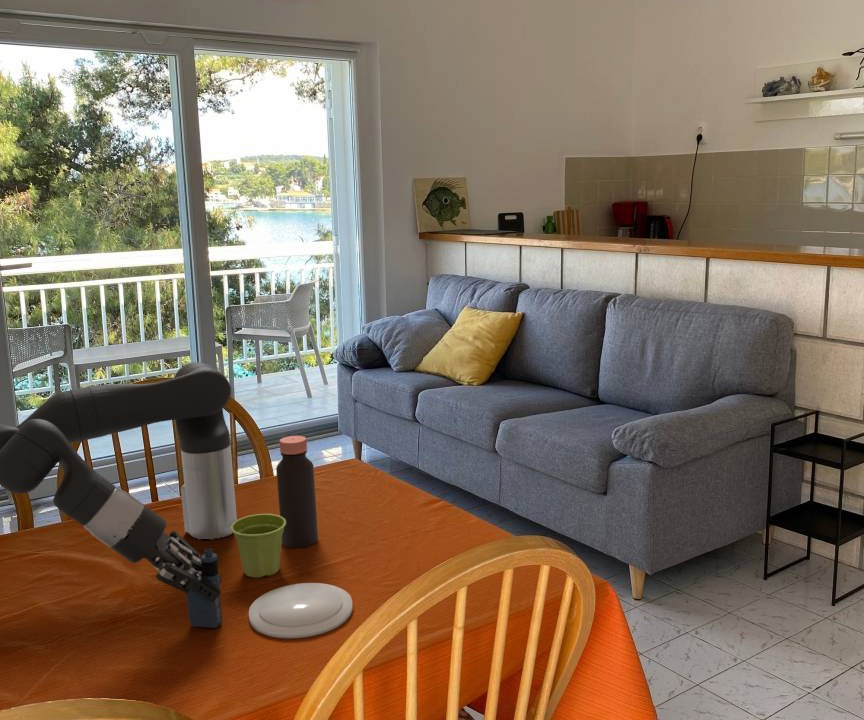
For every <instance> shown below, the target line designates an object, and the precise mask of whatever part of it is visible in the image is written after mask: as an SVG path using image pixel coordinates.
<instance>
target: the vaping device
mask: <svg viewBox="0 0 864 720" xmlns="http://www.w3.org/2000/svg"><path fill="white" fill-rule="evenodd" d="M200 559H201V563H202V572H201V571H198V570H196V571H197V572H198V573H200V574H201V575H203V576H204V577H205V578H206V579H208V580H209V581H211V582H212V583H213V584H215V585H216V586H217V587H219V588H220V589H221V582H220V579H219V576H220V575H219V574H220V573H219V563H218V555H217V553H214V552H213V549H212V548H207V549H205V550H204V554H202V555H200ZM186 580H187V581H188V579H186ZM186 601H187V612H188V613H187V614H188V622H190V625H191V626H192V627H200V628H217V627H219V626H220V625H221V624H222V623H223V616H222V615H223V614H222V603H221V594H220V595H219V596H218V597H217V598H216V600H215V601H213V602H210V601H209V600H207V599H206V598H205V597H203V596H202V595H200V594H199V593H198V592H196V591H195V590H193V589H192V590H190V591H189V592H188V593H186Z"/></svg>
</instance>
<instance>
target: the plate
mask: <svg viewBox="0 0 864 720" xmlns="http://www.w3.org/2000/svg"><path fill="white" fill-rule="evenodd" d="M352 613H353V599H352V596H351V595H350V594H349V593H348V592H347V591H346V590H344V589H343V588H340V587H338V586H337V585H333V584H328V583H322V582H321V583H319V582H305V583H304V582H302V583H295V584H289V585H284V586H282V587H278V588H275V589H272V590H270V591H268V592H266V593H264V594H261V596H259V597H258V598H256V599H255V600H254V601H253V602H252V604H250V607H249V610H248V620H249V621H248V622H249V624H250V626H251V627H252V628H253V629H254V630H255V631H256V632H258V633H259V634H262V635H265V636H268V637H272V638H277V639H301V638H308V637H313V636H318V635H322V634H325V633H327V632H331V631H332V630H334V629H336V628H338V627H340V626H341V625H342V624H344V623H345V622H347V620H348V619H349V618H350V616H351V615H352Z"/></svg>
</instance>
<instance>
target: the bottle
mask: <svg viewBox="0 0 864 720" xmlns="http://www.w3.org/2000/svg"><path fill="white" fill-rule="evenodd" d="M279 452H280V456H282V459H281V460H280V462H278V463H277V465H276V469H275V471H276V483H277V495H278V498H277V499H278V506H279V507H278V509H279V516H281V517H283V518H284V519H285V520H286V525H285V527H284V531H283V534H282V541H281V544H282V545H284V546H285V547H287V548H290V549H291V548H292V549H301V548H307V547H310V546H313V545H314V544H316V543H317V541H318V539H319V532H318V530H319V527H318V517H317V514H318V513H317V501H316V485H315V469H314V463H313V462H312V461H311V460H310V459H309V458H308V457H307V455H306V454H307V452H308V443H307V437H305V436H302V435H289V436H284V437H282V438H281V439H279Z"/></svg>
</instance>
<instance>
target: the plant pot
mask: <svg viewBox="0 0 864 720" xmlns="http://www.w3.org/2000/svg"><path fill="white" fill-rule="evenodd" d="M285 525H286V520H285V519H284V518H283V517H281V516H280V514H273V513H258V514H251V515H246V516H244V517H241V518H239V519H237V521H235V522H234V523H233V524H232V525H231V531H232V532H233V533H232V534H234V538H235V539H236V542H237V546H238V552H239V556H240V560H241V564H242V569H243V572H244V574H245V575H246V576H247V577H250V578H257V579H259V578H262V577H265V576H273V575H274V574H276V573H277V572H278V571H280V567H281V550H282V534H283V531H284V527H285Z"/></svg>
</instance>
